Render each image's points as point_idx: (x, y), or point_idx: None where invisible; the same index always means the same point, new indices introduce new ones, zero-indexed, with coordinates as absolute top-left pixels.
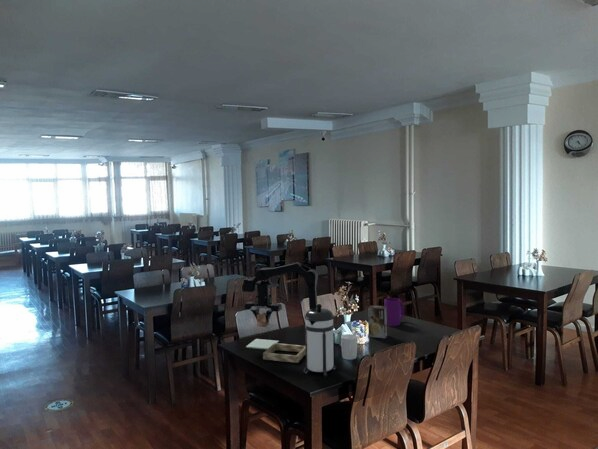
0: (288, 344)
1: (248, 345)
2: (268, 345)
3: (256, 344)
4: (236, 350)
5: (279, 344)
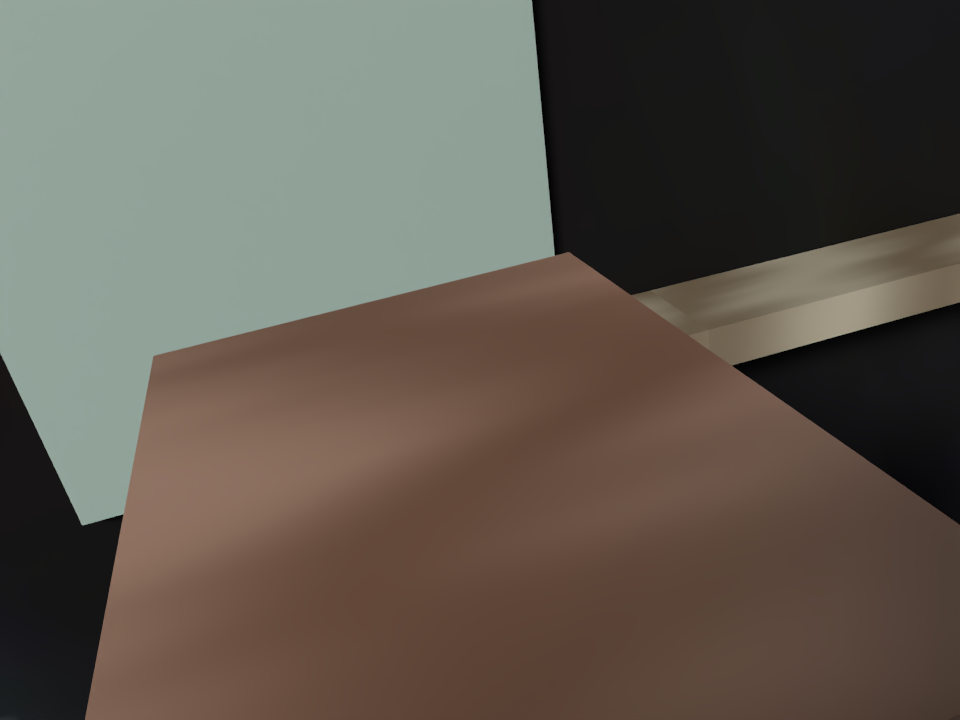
0: (918, 283)
1: (81, 460)
2: (461, 262)
3: (194, 334)
4: (46, 685)
5: (770, 353)
